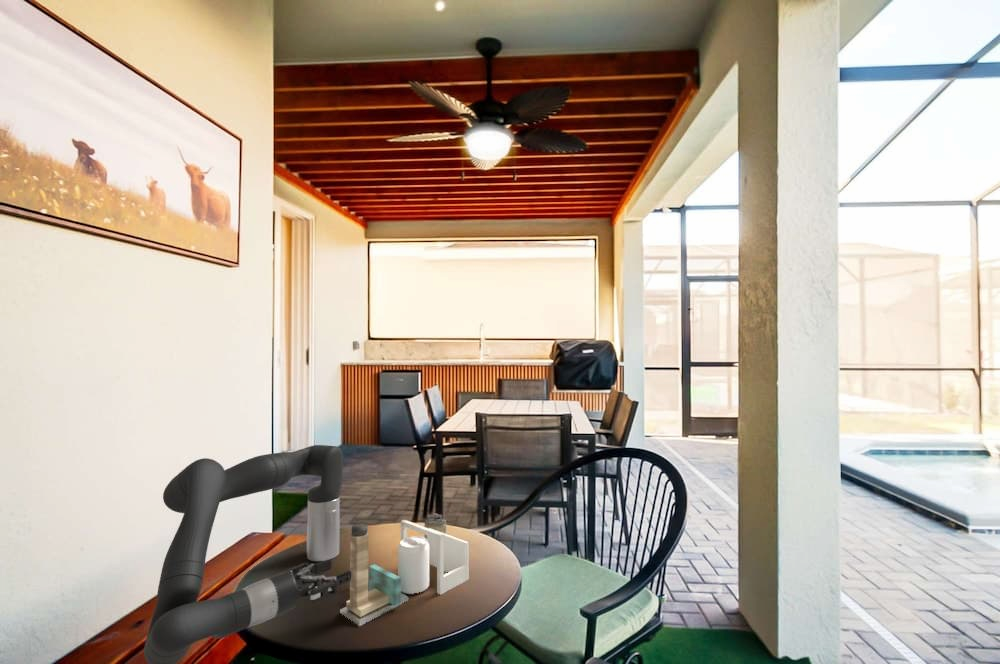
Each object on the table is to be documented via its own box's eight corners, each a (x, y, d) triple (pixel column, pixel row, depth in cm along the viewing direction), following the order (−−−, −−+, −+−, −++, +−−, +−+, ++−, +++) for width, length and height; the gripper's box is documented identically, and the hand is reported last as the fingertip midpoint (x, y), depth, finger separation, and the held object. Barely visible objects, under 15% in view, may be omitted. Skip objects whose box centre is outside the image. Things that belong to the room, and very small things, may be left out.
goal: (400, 575, 129) (400, 520, 130) (429, 562, 137) (429, 510, 138) (440, 595, 119) (440, 535, 120) (468, 579, 127) (468, 523, 128)
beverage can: (402, 599, 117) (403, 550, 118) (394, 584, 124) (394, 539, 125) (433, 591, 121) (433, 544, 121) (423, 577, 128) (423, 533, 129)
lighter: (447, 544, 150) (447, 512, 151) (446, 549, 146) (445, 517, 147) (425, 544, 150) (425, 513, 151) (423, 549, 146) (423, 517, 147)
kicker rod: (339, 604, 112) (340, 523, 113) (374, 588, 120) (374, 512, 120) (365, 621, 105) (366, 534, 106) (400, 603, 113) (401, 522, 113)
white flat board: (340, 613, 111) (340, 609, 111) (388, 590, 121) (388, 586, 121) (359, 626, 106) (359, 621, 106) (408, 600, 116) (408, 596, 116)
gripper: (284, 591, 90) (357, 561, 102) (253, 569, 99) (324, 544, 112) (283, 631, 90) (357, 596, 102) (252, 605, 99) (324, 576, 111)
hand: (340, 569), depth 107 cm, fingers open, 8 cm apart
